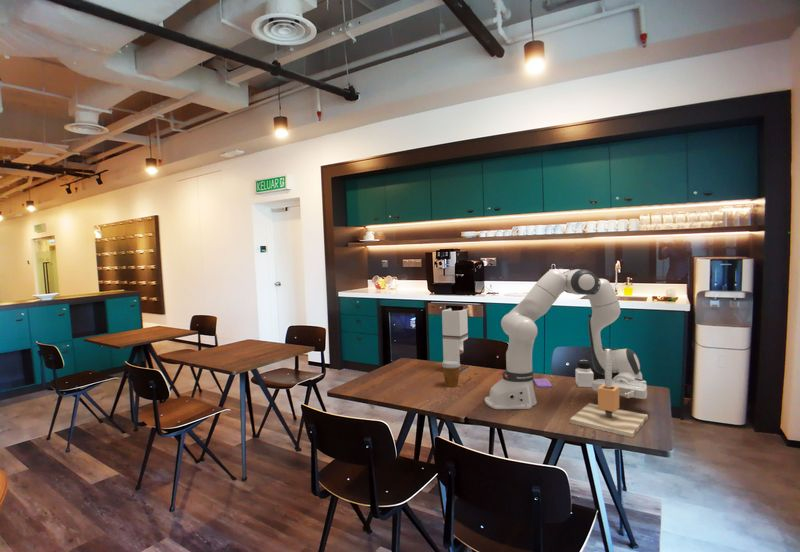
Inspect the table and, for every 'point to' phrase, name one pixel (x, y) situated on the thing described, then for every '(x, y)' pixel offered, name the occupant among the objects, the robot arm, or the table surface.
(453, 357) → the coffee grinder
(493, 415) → the table surface
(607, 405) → the sleeve
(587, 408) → the pipe stand
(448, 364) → the disposable coffee cup
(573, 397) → the table surface
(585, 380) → the medicine bottle
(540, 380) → the sponges
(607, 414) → the steel pipe
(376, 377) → the table surface
